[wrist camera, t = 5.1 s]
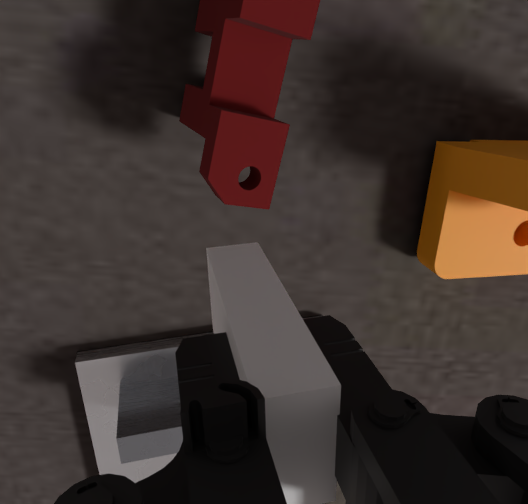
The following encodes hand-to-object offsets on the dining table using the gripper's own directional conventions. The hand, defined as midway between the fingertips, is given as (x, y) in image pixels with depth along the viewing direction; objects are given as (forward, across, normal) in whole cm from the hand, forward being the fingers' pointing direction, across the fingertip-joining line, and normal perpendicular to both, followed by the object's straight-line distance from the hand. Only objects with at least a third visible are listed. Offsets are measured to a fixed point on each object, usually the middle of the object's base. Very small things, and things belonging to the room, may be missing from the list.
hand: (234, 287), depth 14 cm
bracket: (+8, 0, +1) cm, 8 cm away
